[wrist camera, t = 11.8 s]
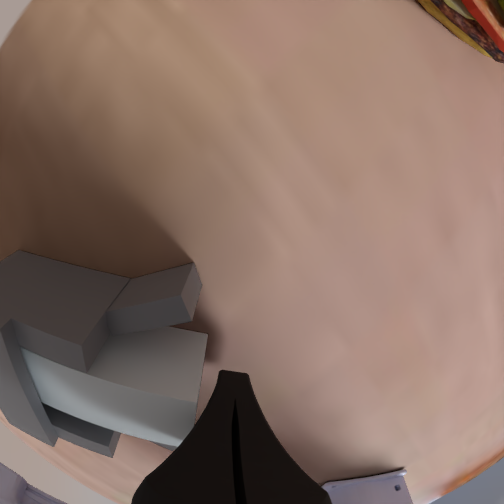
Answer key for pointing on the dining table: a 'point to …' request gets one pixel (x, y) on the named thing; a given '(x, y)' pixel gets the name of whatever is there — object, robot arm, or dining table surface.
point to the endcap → (76, 332)
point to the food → (473, 23)
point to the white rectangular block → (130, 384)
